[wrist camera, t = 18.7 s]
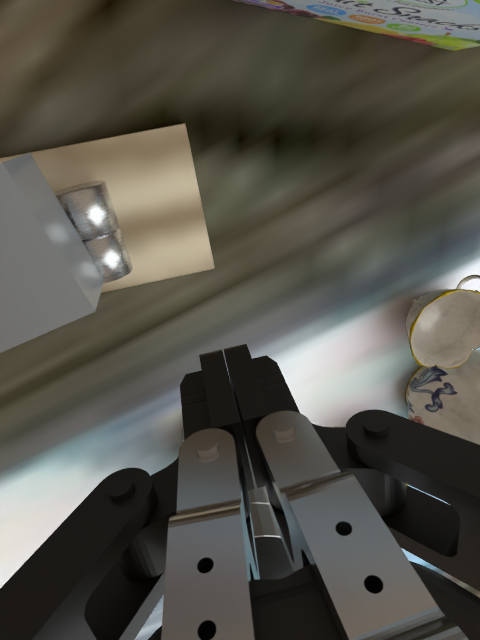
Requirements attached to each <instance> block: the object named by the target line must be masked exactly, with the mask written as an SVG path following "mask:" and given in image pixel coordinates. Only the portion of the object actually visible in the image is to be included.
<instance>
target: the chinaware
mask: <svg viewBox="0 0 480 640" xmlns="http://www.w3.org/2000/svg"><path fill="white" fill-rule="evenodd" d="M476 278H477V279H480V275H471V276H468V277H466V278H464V279H463V280H461V281H460V283H459V284H458V286H457V288H456V289H441V290H435V291H432V292H429V293H427V294H425V295H423V296H422V297H420V298H418V299H413V300H412V301H413V304H412V306H411V309H410V311H409V313H408V315H407V321H406V331H407V335H408V338H409V343H410V348H411V352H412V355H413V357H414V359H415V362H416V364H417V365H419V366H421V367H420V368H418V369H417V370H416V371H415V373H414V374H413V375H412V377H411V378H410V380H409V382H408V384H407V387H406V391H405V400H406V403H407V405H408V410H409V420H412V421H415V422H418V423H421V424H423V425H426V426H429V427H432V428H434V429H437V430H440V431H443V432H446V433H448V434H451V435H454V436H457V437H460V438H462V439H465V440H468V441H471V442H474V443H476V444H479V445H480V350H476V349H477V348H479V347H480V292H479V291H477V290H475V291H472V290H465V289H460V288H461V286H462V285H463V284H464V283H465V282H467V281H469V280H471V279H476ZM472 349H474V350H472ZM407 485H408V484H407Z"/></svg>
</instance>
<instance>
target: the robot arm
mask: <svg viewBox="0 0 480 640" xmlns="http://www.w3.org/2000/svg"><path fill="white" fill-rule="evenodd" d="M224 354H225V358H226V363H227V367H226V364H225V360H224V356H223V352H222V350H218V351H214V352H210V353H205V354H201V355H199V357H200V363H201V369H202V371H198V372H194V373H189V374H186V375H185V377H184V379H183V381H182V383H181V384H180V392H181V405H182V417H183V429H182V445H181V447H180V450H179V457H178V458H177V459H176V460H175V461H174V462H173V463H172V464H170V465H169V466H168V467H166V468H164V469H163V470H161V471H159V472H157V473H155V474H153V475H151V476H150V475H149V474H148V473H147V472H146V471H144V470H142V469H139V468H126V469H122V470H119V471H117V472H114V473H112V474H111V475H109V476H108V477H106V478H105V479H104V480H103V481H102V482H101V483H100V484H99V485H98V486H97V487H96V488H95V489H94V490H93V491H92V492H91V493H90V494H89V495H88V496H87V497H86V498H85V499H84V501H83V502H82V503H81V504H80V505H79V506H78V507H77V508H76V509H75V510H74V511H73V512H72V513H71V514H70V515H69V516H68V518H67V519H66V520H65V521H64V522H63V523H62V524H61V525H60V526H59V527H58V528H57V529H56V530H55V531H54V532H53V533H52V535H51V536H50V537H49V538H48V539H47V540H46V541H45V542H44V543H43V544H42V545H41V546H40V547H39V548H38V549H37V550H36V551H35V553H34V554H33V555H32V556H31V557H30V558H29V559H28V560H27V561H26V562H25V563H24V564H23V565H22V566H21V567H20V568H19V570H18V571H17V572H16V573H15V574H14V575H13V576H12V577H11V578H10V579H9V580H8V581H7V582H6V583H5V584H4V585H3V587H2V588H1V589H0V640H134V639H135V638H136V636H137V635H138V633H139V631H140V630H141V628H142V627H143V625H144V624H145V622H146V621H147V619H148V617H149V616H150V614H151V613H152V611H153V610H154V608H155V607H156V605H157V603H158V602H159V600H160V599H161V597H162V596H163V594H164V603H163V619H162V626H161V627H160V628H158V629H157V630H156V631H155V632H154V634H153V635H152V636H151V637H150V638H149V639H148V640H480V598H479V597H477V596H476V595H474V594H472V593H471V592H469V591H467V590H466V589H464V588H462V587H461V586H459V585H457V584H456V583H454V582H452V581H451V580H449V579H447V578H446V577H444V576H442V575H441V574H439V573H437V572H435V571H433V570H431V569H429V568H427V567H425V566H423V565H420V564H417V563H414V562H411V561H409V560H408V559H407V557H406V556H405V554H404V552H403V551H402V549H401V548H403V549H405V550H406V551H408V552H410V553H412V554H414V555H415V556H417V557H419V558H421V559H423V560H424V561H426V562H428V563H430V564H432V565H433V566H435V567H437V568H439V569H441V570H442V571H444V572H446V573H448V574H450V575H451V576H453V577H455V578H457V579H459V580H460V581H462V582H464V583H466V584H468V585H469V586H471V587H473V588H475V589H477V590H478V591H480V445H479V444H476V443H474V442H471V441H468V440H465V439H462V438H460V437H457V436H454V435H451V434H448V433H446V432H443V431H440V430H437V429H434V428H432V427H429V426H426V425H423V424H421V423H418V422H415V421H412V420H409V419H407V418H404V417H401V416H398V415H395V414H393V413H390V412H387V411H382V410H366V411H362V412H359V413H357V414H355V415H353V416H352V417H351V418H350V419H349V420H348V422H347V424H346V427H335V428H331V427H321V426H318V425H315V424H312V423H311V422H310V421H309V420H308V418H307V417H305V416H304V415H302V414H300V412H299V410H298V408H297V405H296V403H295V401H294V399H293V397H292V395H291V392H290V390H289V388H288V386H287V384H286V382H285V379H284V377H283V375H282V373H281V371H280V369H279V366H278V364H277V362H275V361H274V360H272V359H271V358H269V357H268V356H262V357H258V358H253V359H252V358H251V355H250V352H249V350H248V347H247V345H246V344H244V345H240V346H235V347H231V348H227V349H224ZM227 368H228V371H227ZM228 373H229V375H228ZM229 377H230V379H229ZM230 382H231V383H230ZM407 484H408V485H411V486H413V487H415V488H417V489H419V490H422V491H424V492H426V493H428V494H430V495H432V496H435V497H437V498H439V499H441V500H443V501H445V502H447V503H448V504H446V503H444V502H442V501H440V500H438V499H435V498H433V497H431V496H429V495H427V494H425V493H422V492H420V491H418V490H416V489H414V488H411V487H409V486H407ZM449 504H450V505H449ZM400 547H401V548H400Z"/></svg>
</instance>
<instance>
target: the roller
mask: <svg viewBox="0 0 480 640" xmlns="http://www.w3.org/2000/svg"><path fill="white" fill-rule="evenodd" d="M54 194H55V196H56V197H57V199H58V201H59V203H60V204H61V206H62V208H63V209H64V211H65V213H66V214H67V216H68V218H69V220H70V221H71V223H72V225H73V226H74V228H75V230H76V231H77V233H78V235H79V237H80V238H81V240H82V242H83V243H84V245H85V247H86V248H87V250H88V252H89V253H90V255H91V257H92V259H93V260H94V262H95V264H96V265H97V267H98V269H99V270H100V272H101V274H102V276H103V277H104V279H105V280H104V283H109V282H112V281H115V280H118V279H120V278H122V277H124V276H126V275H128V274H129V273H130V272H131V271H132V270H133V266H132V263H131V260H130V257H129V253H128V250H127V247H126V244H125V241H124V238H123V235H122V232H121V229H120V227H119V226H120V225H119V222H118V219H117V216H116V213H115V210H114V207H113V204H112V201H111V198H110V194H109V191H108V188H107V185H106V182H105V181H94V182H88V183H83V184H79V185H75V186H72V187H68V188H65V189H62V190H59V191H57V192H55V193H54ZM104 283H103V284H104Z"/></svg>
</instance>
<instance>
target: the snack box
mask: <svg viewBox="0 0 480 640" xmlns="http://www.w3.org/2000/svg"><path fill="white" fill-rule="evenodd" d="M232 1H237V2H241V3H245V4H250V5H255V6H259V7H264V8H268V9H272V10H277V11H281V12H286V13H290V14H294V15H299V16H304V17H309V18H314V19H318V20H322V21H326V22H330V23H335V24H339V25H344V26H348V27H352V28H357V29H361V30H365V31H370V32H374V33H379V34H383V35H388V36H392V37H396V38H400V39H405V40H409V41H413V42H417V43H422V44H426V45H431V46H435V47H439V48H443V49H448V50H458V49H463V48H470V47H476V46H480V0H232Z"/></svg>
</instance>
